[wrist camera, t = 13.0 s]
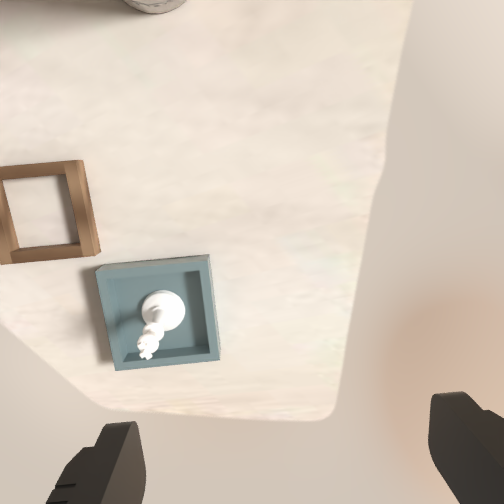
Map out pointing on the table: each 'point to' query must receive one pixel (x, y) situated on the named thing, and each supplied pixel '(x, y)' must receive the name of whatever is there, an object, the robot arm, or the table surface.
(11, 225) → the collar
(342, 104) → the table surface
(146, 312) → the chess piece
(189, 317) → the tray
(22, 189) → the table surface
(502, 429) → the robot arm
